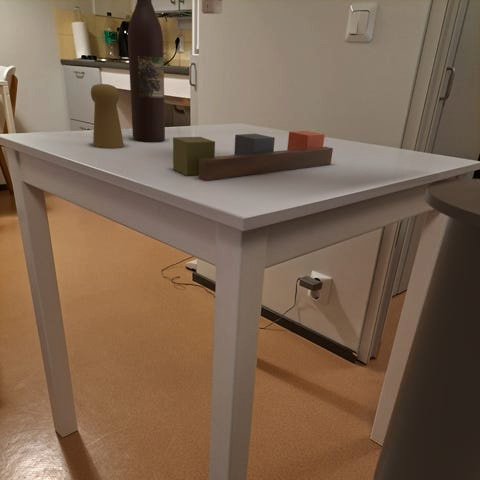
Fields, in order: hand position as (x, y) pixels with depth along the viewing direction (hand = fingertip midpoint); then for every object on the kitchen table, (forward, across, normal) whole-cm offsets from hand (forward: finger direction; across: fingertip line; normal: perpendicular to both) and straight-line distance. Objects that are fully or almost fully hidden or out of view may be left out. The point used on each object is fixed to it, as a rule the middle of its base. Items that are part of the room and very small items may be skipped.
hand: (211, 13), depth 73 cm
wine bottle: (+23, +25, -3) cm, 34 cm away
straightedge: (+23, -12, -5) cm, 26 cm away
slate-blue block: (+23, -7, -5) cm, 24 cm away
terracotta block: (+23, -7, -19) cm, 30 cm away
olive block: (+23, -7, +9) cm, 25 cm away
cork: (+23, +21, +9) cm, 32 cm away
